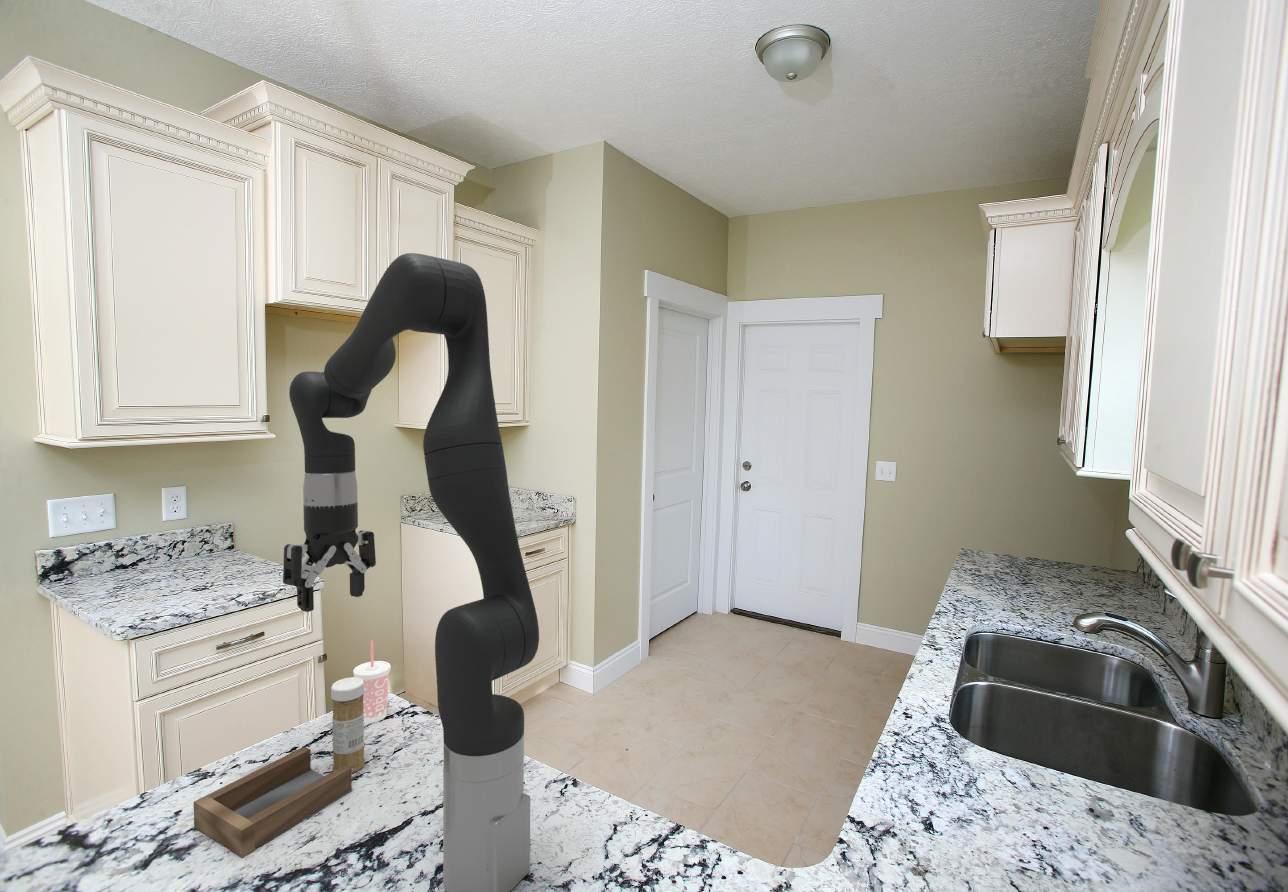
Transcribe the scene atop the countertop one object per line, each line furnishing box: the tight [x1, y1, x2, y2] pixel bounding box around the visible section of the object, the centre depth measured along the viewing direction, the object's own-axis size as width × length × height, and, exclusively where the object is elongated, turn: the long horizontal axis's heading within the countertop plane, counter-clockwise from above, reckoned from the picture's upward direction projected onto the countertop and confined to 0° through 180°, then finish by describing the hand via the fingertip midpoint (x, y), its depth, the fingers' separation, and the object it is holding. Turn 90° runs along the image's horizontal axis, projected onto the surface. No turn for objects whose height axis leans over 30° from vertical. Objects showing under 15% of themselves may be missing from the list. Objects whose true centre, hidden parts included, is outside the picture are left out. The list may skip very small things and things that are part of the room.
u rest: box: [193, 746, 353, 859], centre depth 83 cm, size 11×15×4 cm
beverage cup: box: [353, 639, 392, 724], centre depth 107 cm, size 6×6×14 cm
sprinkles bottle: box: [330, 676, 366, 774], centre depth 92 cm, size 5×5×14 cm
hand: (332, 602), depth 95 cm, fingers open, 8 cm apart
